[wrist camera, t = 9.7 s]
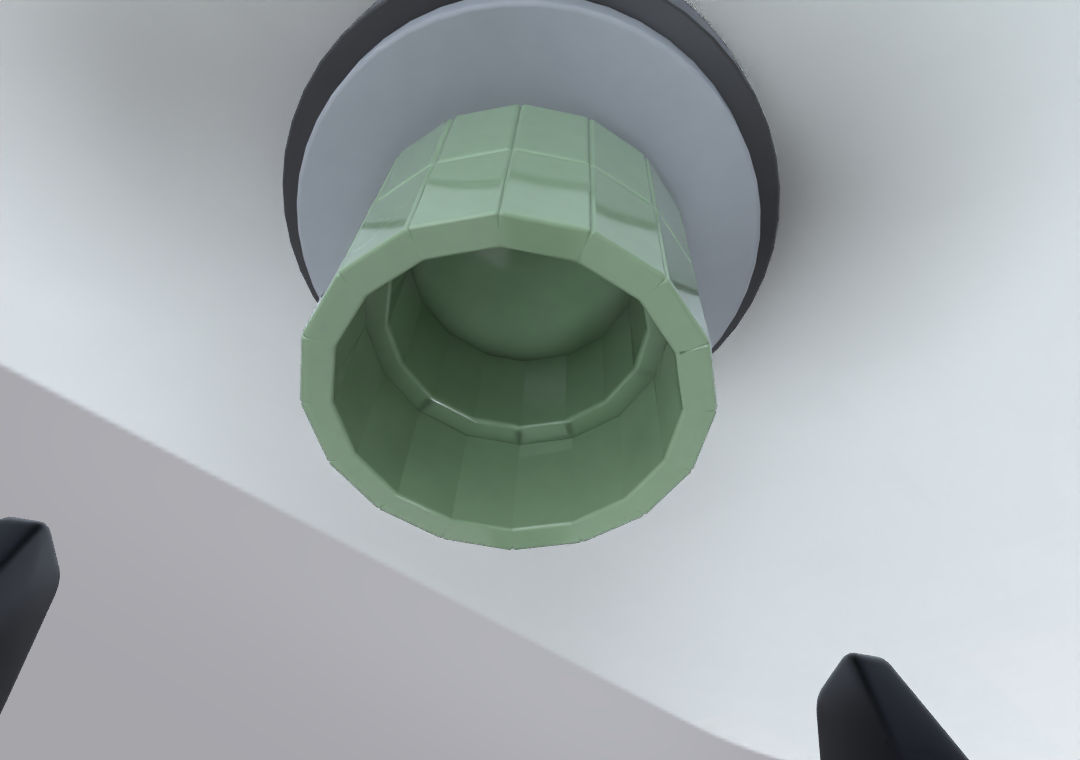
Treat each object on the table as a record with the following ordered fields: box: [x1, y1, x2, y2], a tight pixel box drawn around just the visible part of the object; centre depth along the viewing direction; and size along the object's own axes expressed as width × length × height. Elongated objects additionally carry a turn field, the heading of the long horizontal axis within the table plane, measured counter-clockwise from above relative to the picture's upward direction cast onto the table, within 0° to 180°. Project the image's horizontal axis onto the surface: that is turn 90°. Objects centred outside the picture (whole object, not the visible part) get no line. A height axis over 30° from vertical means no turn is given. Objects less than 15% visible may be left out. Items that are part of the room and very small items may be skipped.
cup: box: [300, 104, 717, 550], centre depth 14 cm, size 6×6×5 cm
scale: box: [283, 0, 780, 353], centre depth 17 cm, size 10×10×2 cm
